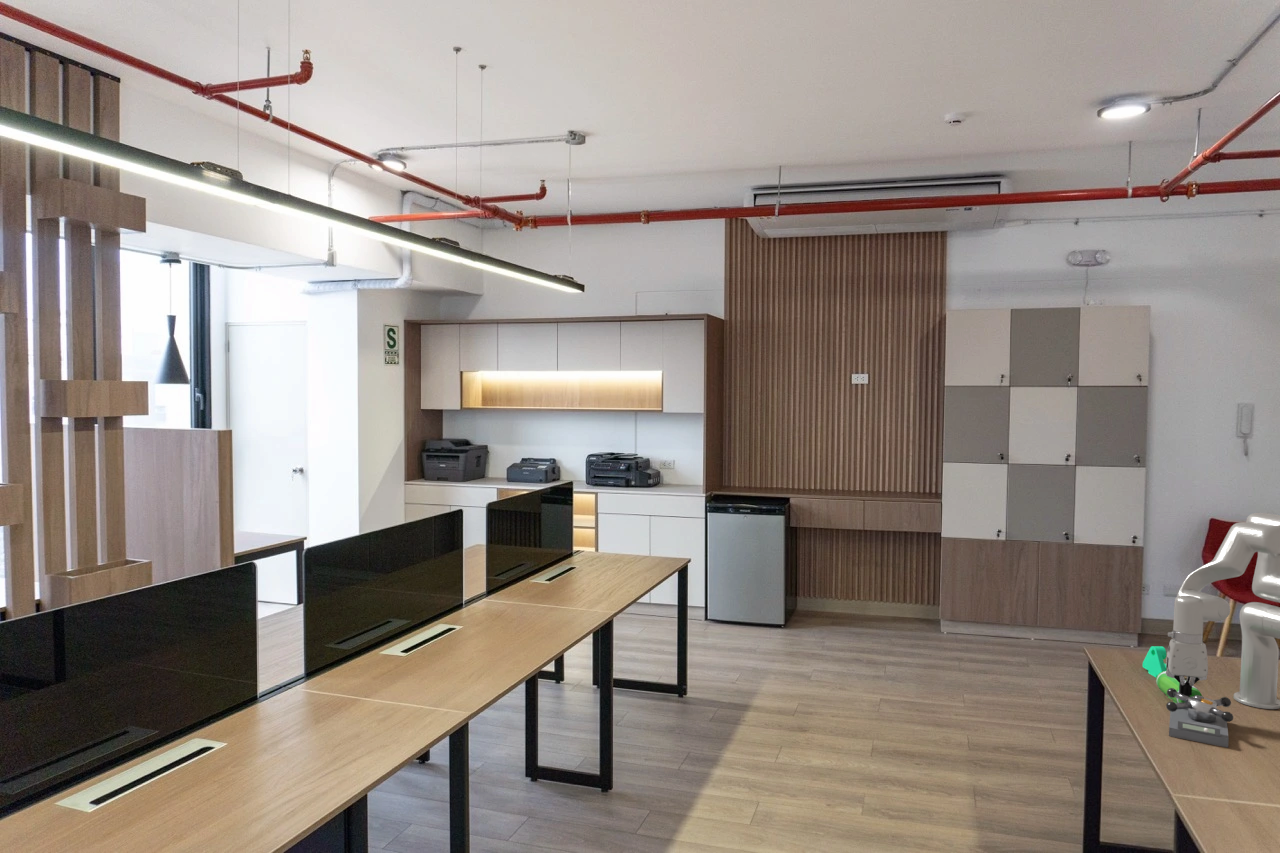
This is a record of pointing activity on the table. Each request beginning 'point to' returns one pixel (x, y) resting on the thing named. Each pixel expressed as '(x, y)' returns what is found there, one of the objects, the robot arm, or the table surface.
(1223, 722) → the stand
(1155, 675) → the camera mount
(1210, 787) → the table surface
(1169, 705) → the capstan
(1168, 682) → the speaker
